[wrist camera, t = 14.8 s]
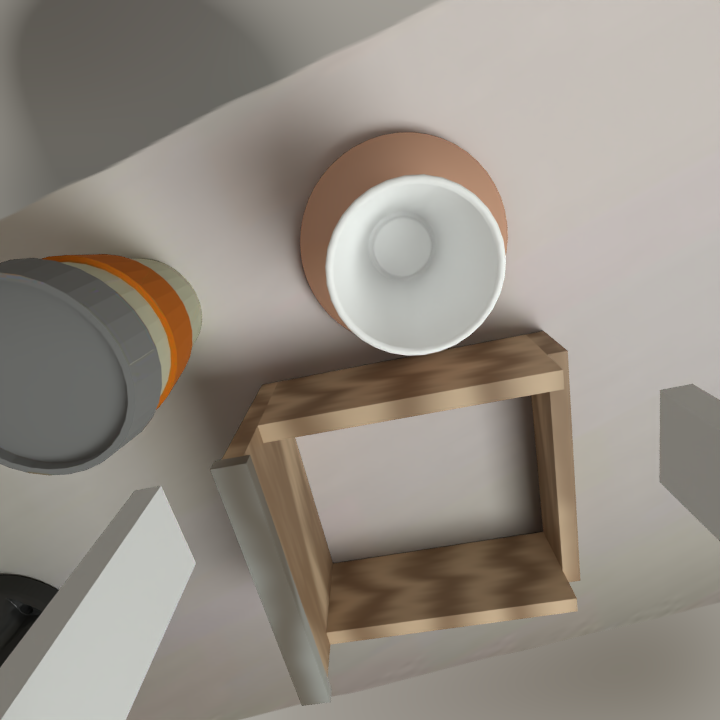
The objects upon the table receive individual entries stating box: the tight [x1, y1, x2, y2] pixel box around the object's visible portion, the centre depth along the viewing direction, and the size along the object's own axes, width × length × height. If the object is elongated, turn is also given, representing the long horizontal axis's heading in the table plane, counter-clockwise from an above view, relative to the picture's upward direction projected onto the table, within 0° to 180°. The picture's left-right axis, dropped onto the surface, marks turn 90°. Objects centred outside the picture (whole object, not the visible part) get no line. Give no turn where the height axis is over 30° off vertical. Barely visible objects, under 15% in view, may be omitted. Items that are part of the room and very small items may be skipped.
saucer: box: [300, 132, 508, 332], centre depth 36 cm, size 16×16×1 cm
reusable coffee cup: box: [0, 254, 202, 475], centre depth 32 cm, size 12×12×15 cm
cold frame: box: [210, 331, 580, 706], centre depth 38 cm, size 25×23×13 cm
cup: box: [325, 174, 506, 356], centre depth 30 cm, size 10×10×11 cm
